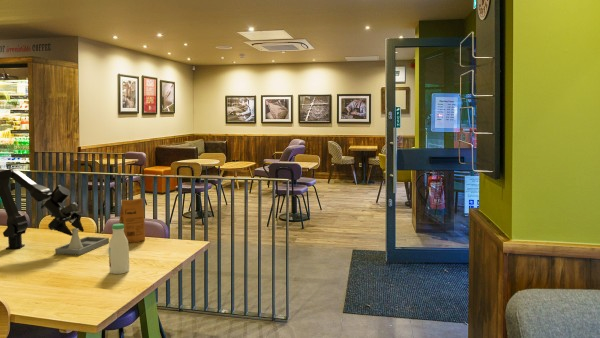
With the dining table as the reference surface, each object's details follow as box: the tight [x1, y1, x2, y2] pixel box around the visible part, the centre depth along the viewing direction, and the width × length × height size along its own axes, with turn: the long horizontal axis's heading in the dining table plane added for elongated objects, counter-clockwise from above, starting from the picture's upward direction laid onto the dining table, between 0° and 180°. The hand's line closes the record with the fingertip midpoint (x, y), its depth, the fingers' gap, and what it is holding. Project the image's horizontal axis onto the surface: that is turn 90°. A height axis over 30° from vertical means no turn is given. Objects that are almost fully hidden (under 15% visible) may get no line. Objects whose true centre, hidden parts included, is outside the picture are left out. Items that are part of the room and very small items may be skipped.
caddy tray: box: [54, 236, 110, 256], centre depth 235 cm, size 12×24×2 cm, turn 169°
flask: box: [68, 227, 83, 250], centre depth 229 cm, size 7×7×10 cm
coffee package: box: [118, 197, 146, 244], centre depth 249 cm, size 10×12×22 cm
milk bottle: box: [108, 223, 130, 275], centre depth 199 cm, size 8×8×20 cm
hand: (77, 233), depth 229 cm, fingers open, 8 cm apart
